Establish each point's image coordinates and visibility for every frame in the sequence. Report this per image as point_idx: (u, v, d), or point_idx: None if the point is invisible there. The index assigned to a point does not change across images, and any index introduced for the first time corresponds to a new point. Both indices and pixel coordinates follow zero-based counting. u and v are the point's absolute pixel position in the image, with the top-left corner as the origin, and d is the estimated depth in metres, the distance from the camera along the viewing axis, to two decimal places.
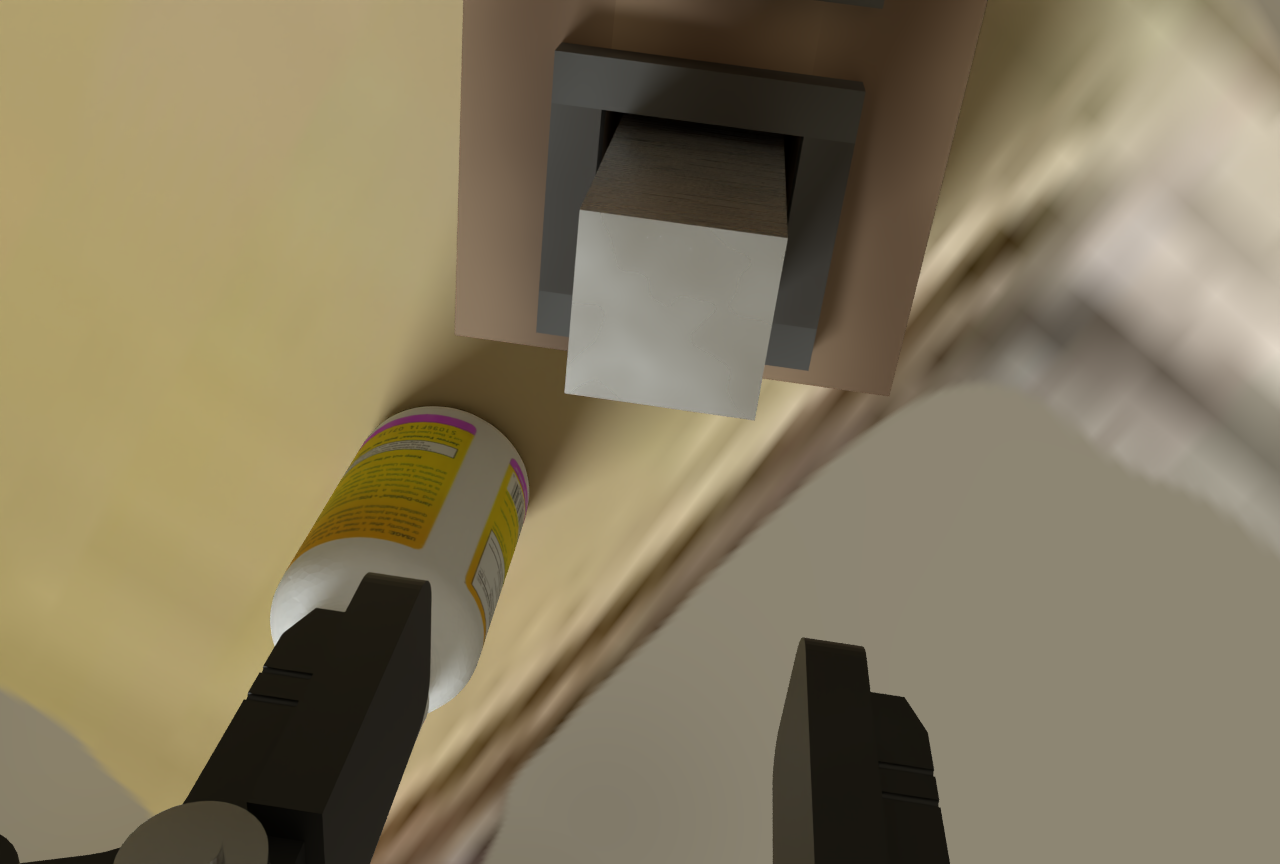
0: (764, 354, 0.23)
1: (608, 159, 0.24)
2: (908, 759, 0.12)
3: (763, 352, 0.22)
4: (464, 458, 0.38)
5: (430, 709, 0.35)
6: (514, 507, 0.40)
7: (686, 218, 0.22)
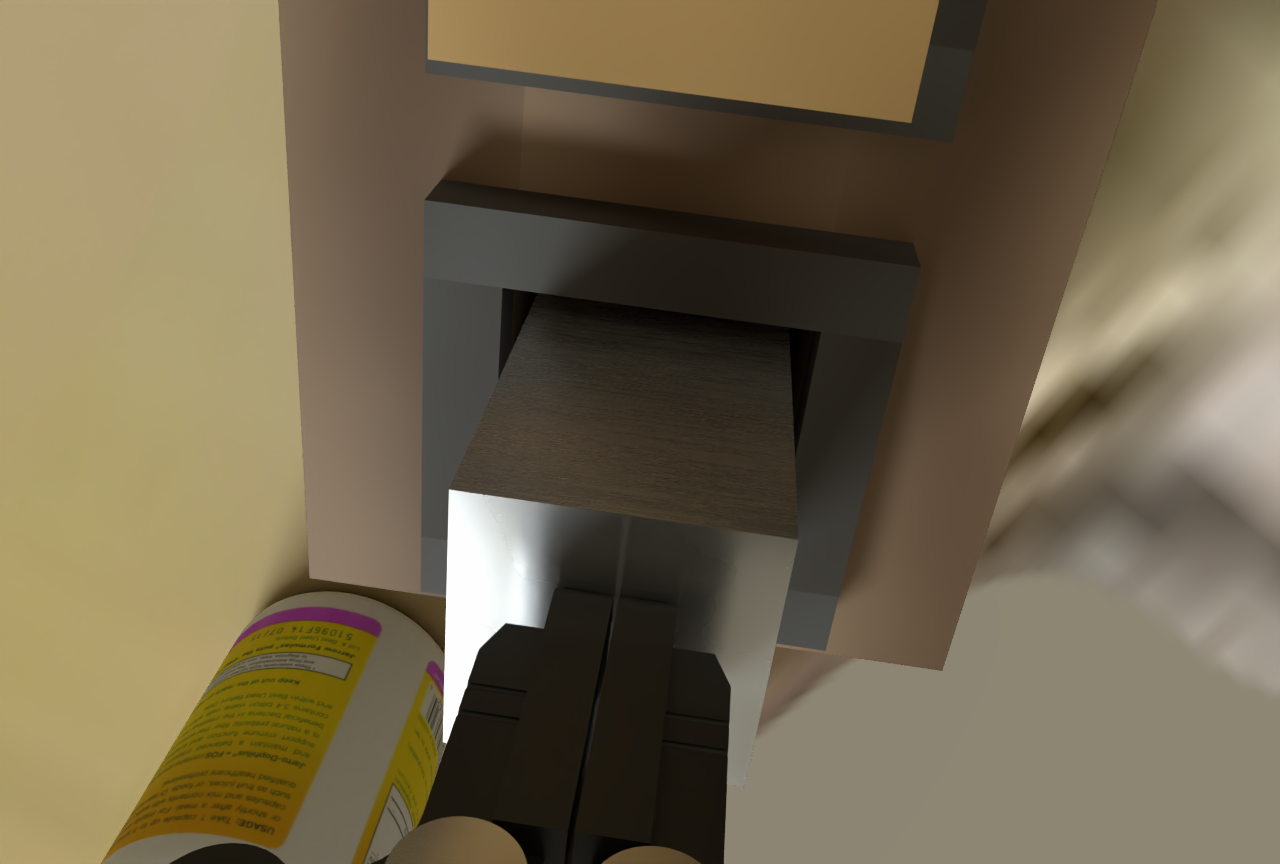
0: (759, 700, 0.14)
1: (517, 358, 0.16)
2: (706, 712, 0.12)
3: (758, 697, 0.14)
4: (360, 678, 0.29)
5: None
6: (431, 733, 0.30)
7: (629, 498, 0.13)
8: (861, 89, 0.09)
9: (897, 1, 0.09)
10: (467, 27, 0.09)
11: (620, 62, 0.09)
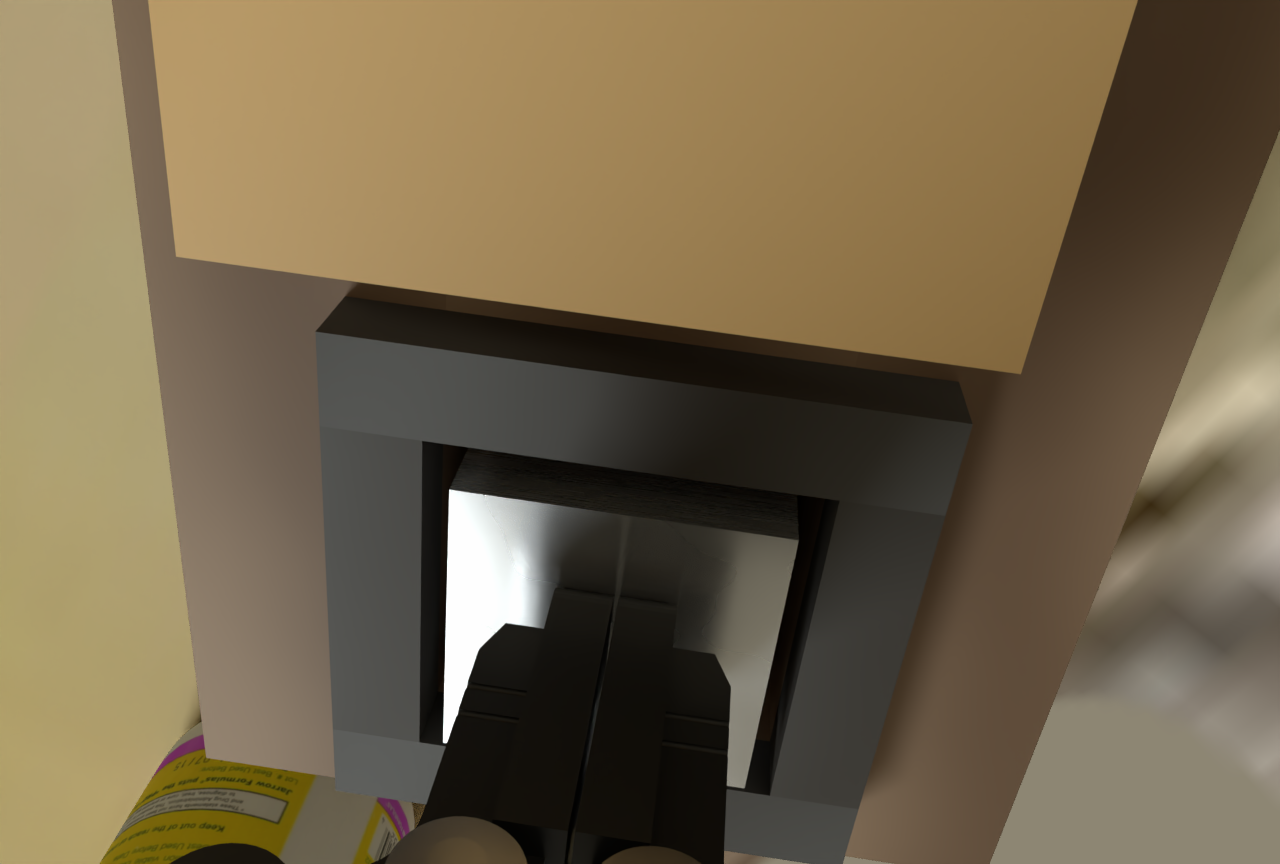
0: (760, 701, 0.14)
1: None
2: (706, 712, 0.12)
3: (759, 699, 0.14)
4: (297, 819, 0.25)
5: None
6: None
7: (630, 499, 0.13)
8: (934, 318, 0.05)
9: (1006, 174, 0.05)
10: (237, 208, 0.05)
11: (508, 267, 0.05)
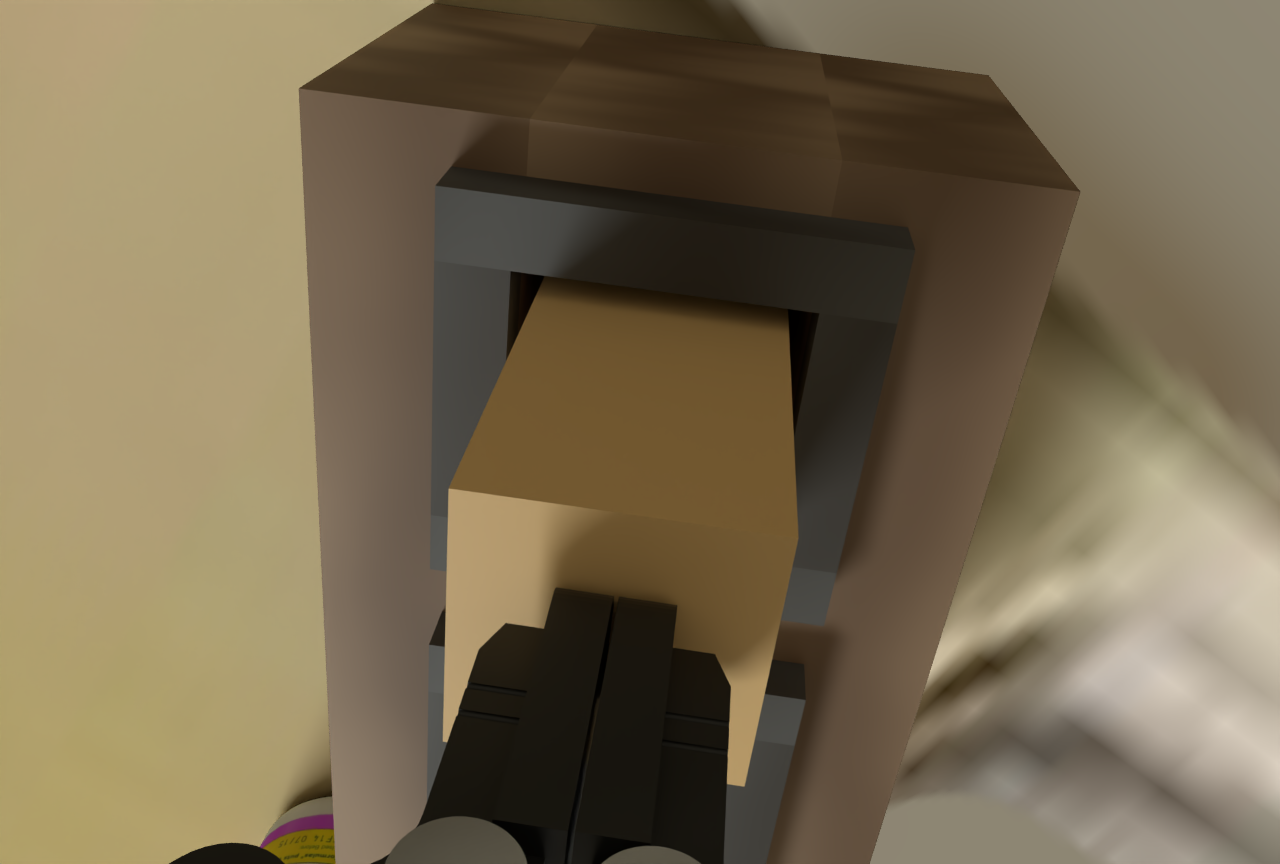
0: None
1: None
2: (706, 712, 0.12)
3: None
4: None
5: None
6: None
7: None
8: None
9: (730, 733, 0.14)
10: None
11: None
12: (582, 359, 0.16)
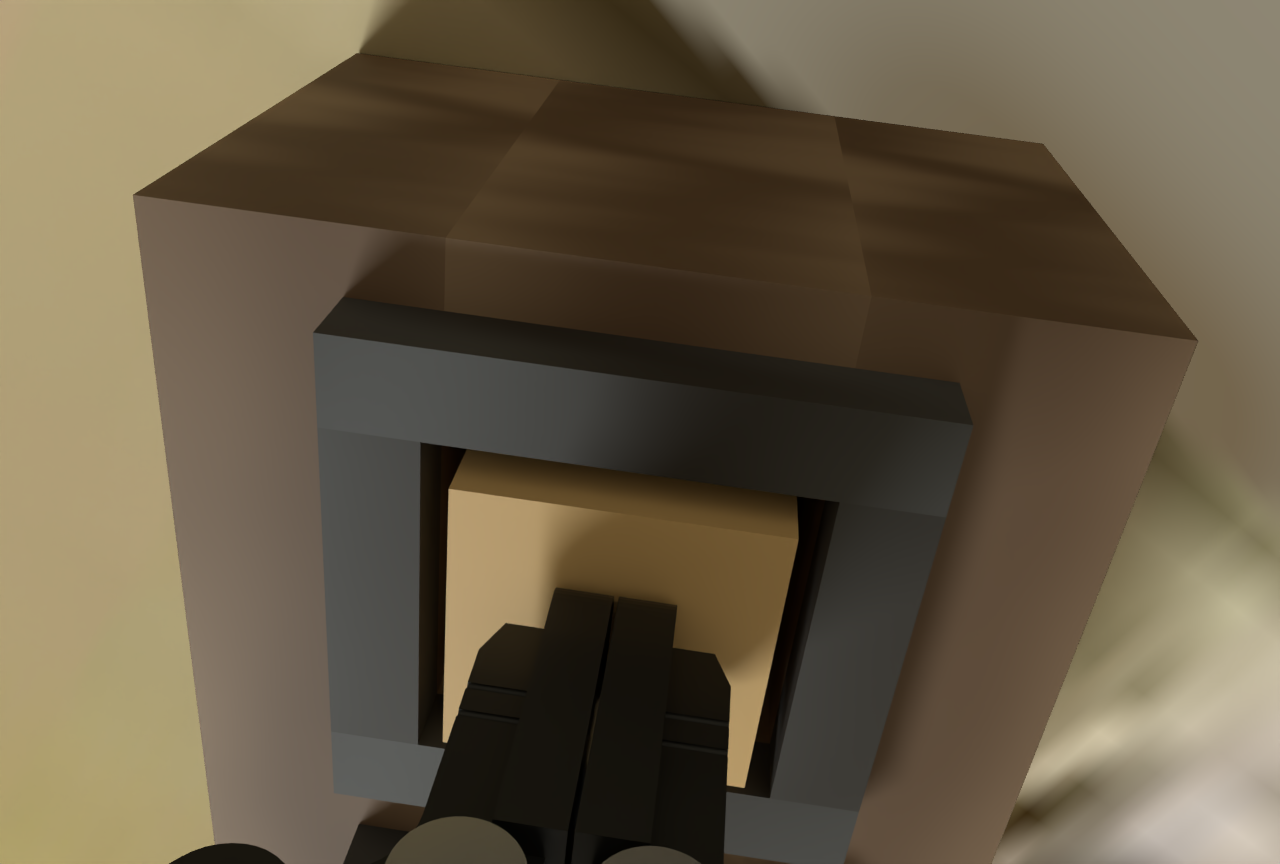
0: None
1: None
2: (706, 711, 0.12)
3: None
4: None
5: None
6: None
7: None
8: None
9: (731, 735, 0.14)
10: None
11: None
12: None
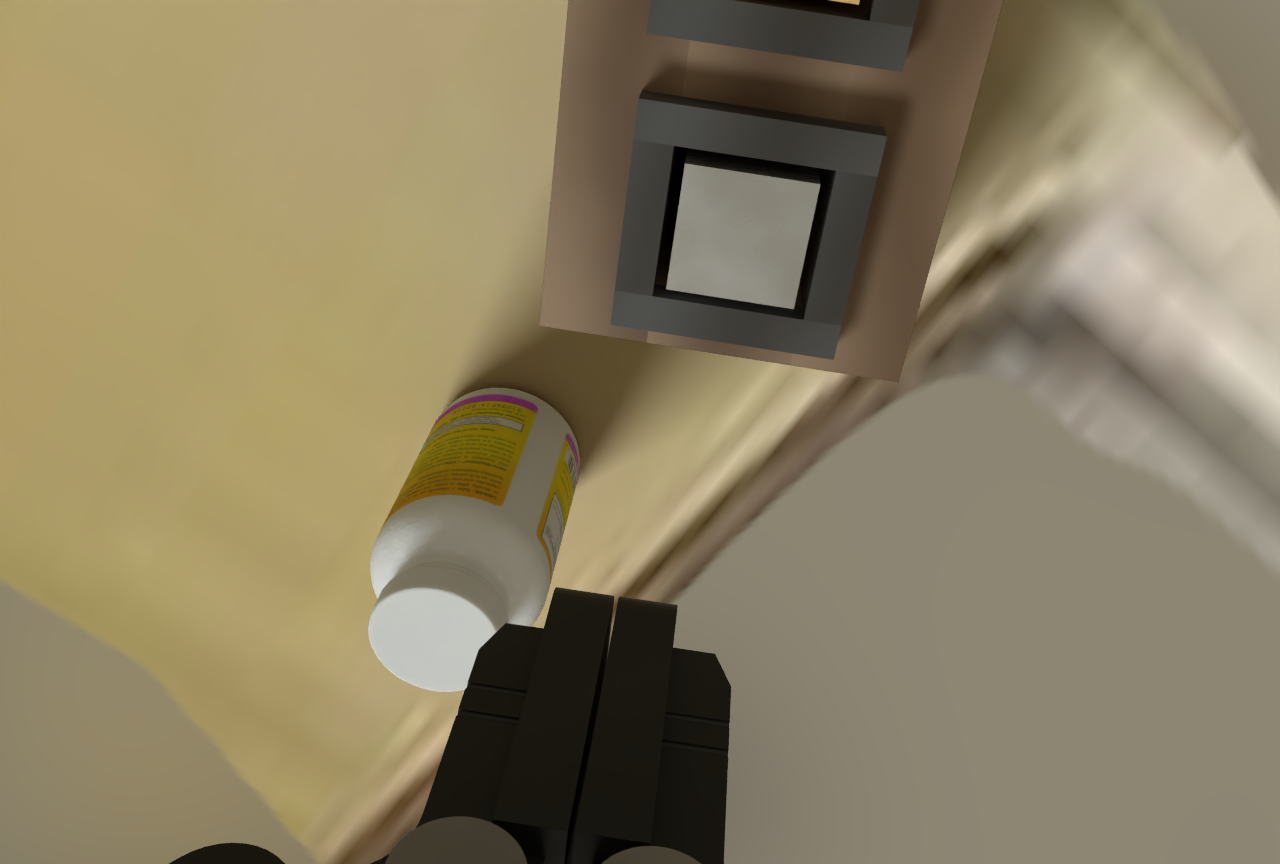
0: (802, 263, 0.34)
1: None
2: (706, 712, 0.12)
3: (801, 261, 0.34)
4: (529, 432, 0.45)
5: None
6: (570, 476, 0.46)
7: (754, 170, 0.33)
8: None
9: None
10: None
11: None
12: None
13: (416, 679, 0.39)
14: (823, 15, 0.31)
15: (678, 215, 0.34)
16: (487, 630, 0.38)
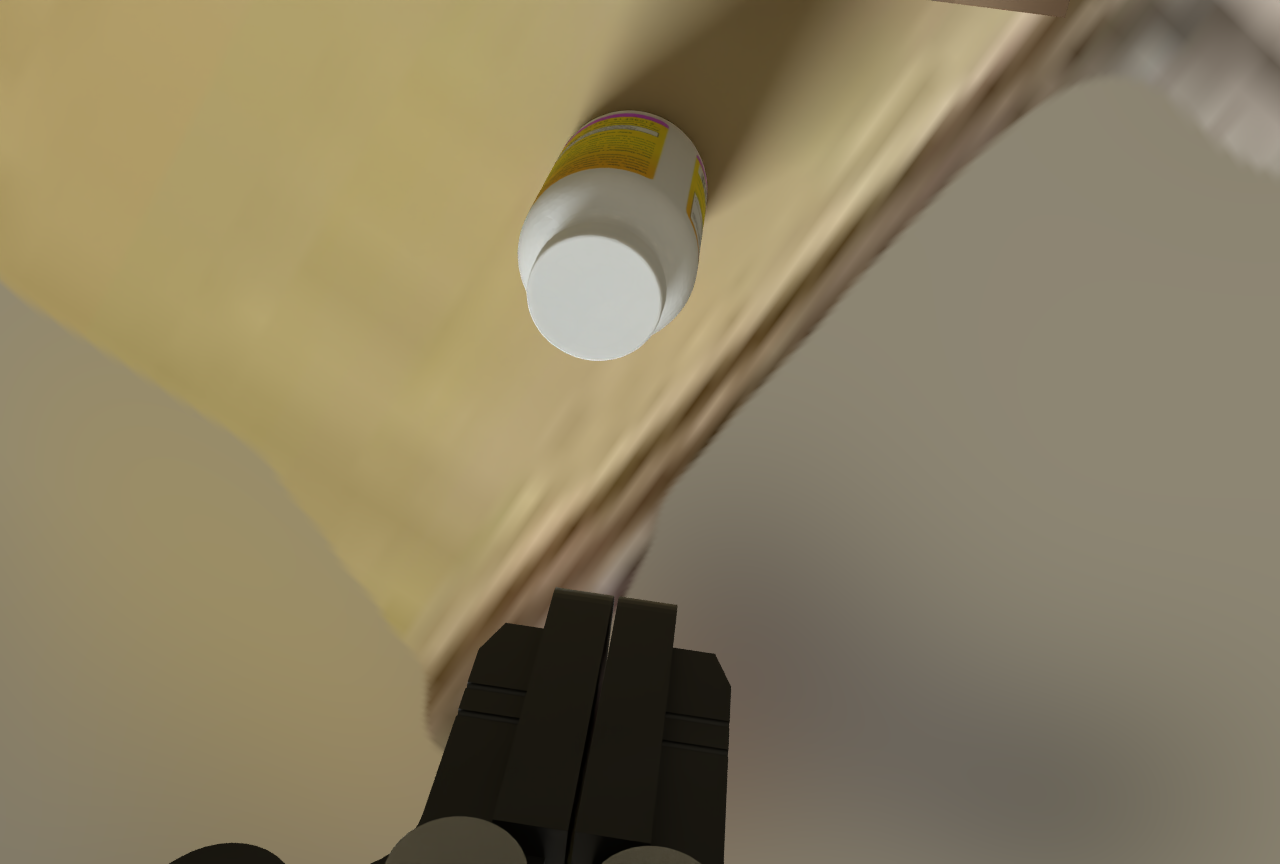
0: None
1: None
2: (706, 711, 0.12)
3: None
4: (665, 139, 0.44)
5: None
6: (704, 191, 0.46)
7: None
8: None
9: None
10: None
11: None
12: None
13: (573, 347, 0.39)
14: None
15: None
16: (649, 283, 0.37)
